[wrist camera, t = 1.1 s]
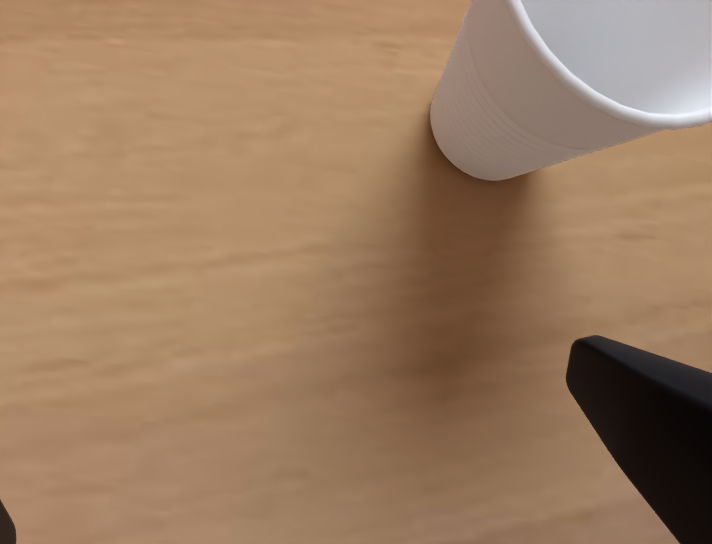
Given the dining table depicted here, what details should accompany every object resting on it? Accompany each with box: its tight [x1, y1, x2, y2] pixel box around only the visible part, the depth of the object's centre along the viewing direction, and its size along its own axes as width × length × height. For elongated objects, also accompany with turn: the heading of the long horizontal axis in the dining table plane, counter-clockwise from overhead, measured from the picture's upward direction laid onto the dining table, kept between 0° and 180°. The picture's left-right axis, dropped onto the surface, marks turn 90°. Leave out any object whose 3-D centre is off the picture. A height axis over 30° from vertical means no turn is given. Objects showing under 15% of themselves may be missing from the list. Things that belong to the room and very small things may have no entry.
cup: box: [430, 0, 712, 181], centre depth 21 cm, size 10×10×11 cm
